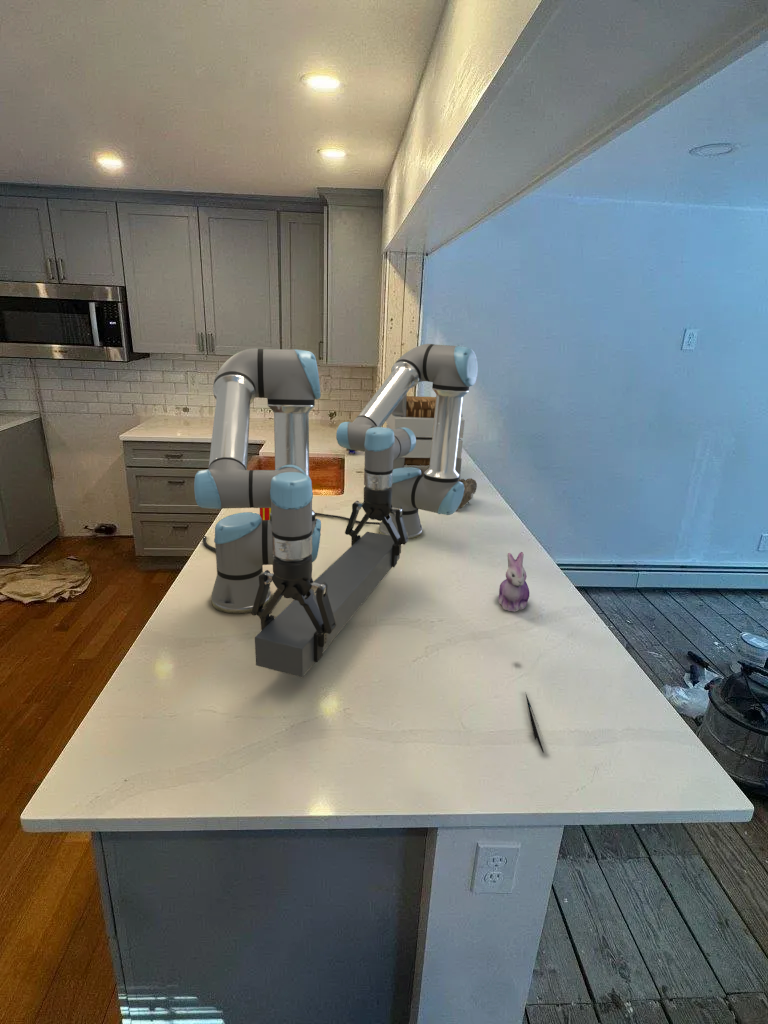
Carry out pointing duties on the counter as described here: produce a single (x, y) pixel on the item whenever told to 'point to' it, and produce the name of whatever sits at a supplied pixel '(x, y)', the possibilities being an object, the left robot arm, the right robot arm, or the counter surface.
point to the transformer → (419, 430)
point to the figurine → (514, 585)
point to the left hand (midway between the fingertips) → (293, 651)
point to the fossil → (468, 491)
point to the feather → (534, 723)
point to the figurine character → (351, 450)
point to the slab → (347, 589)
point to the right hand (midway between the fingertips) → (375, 561)
